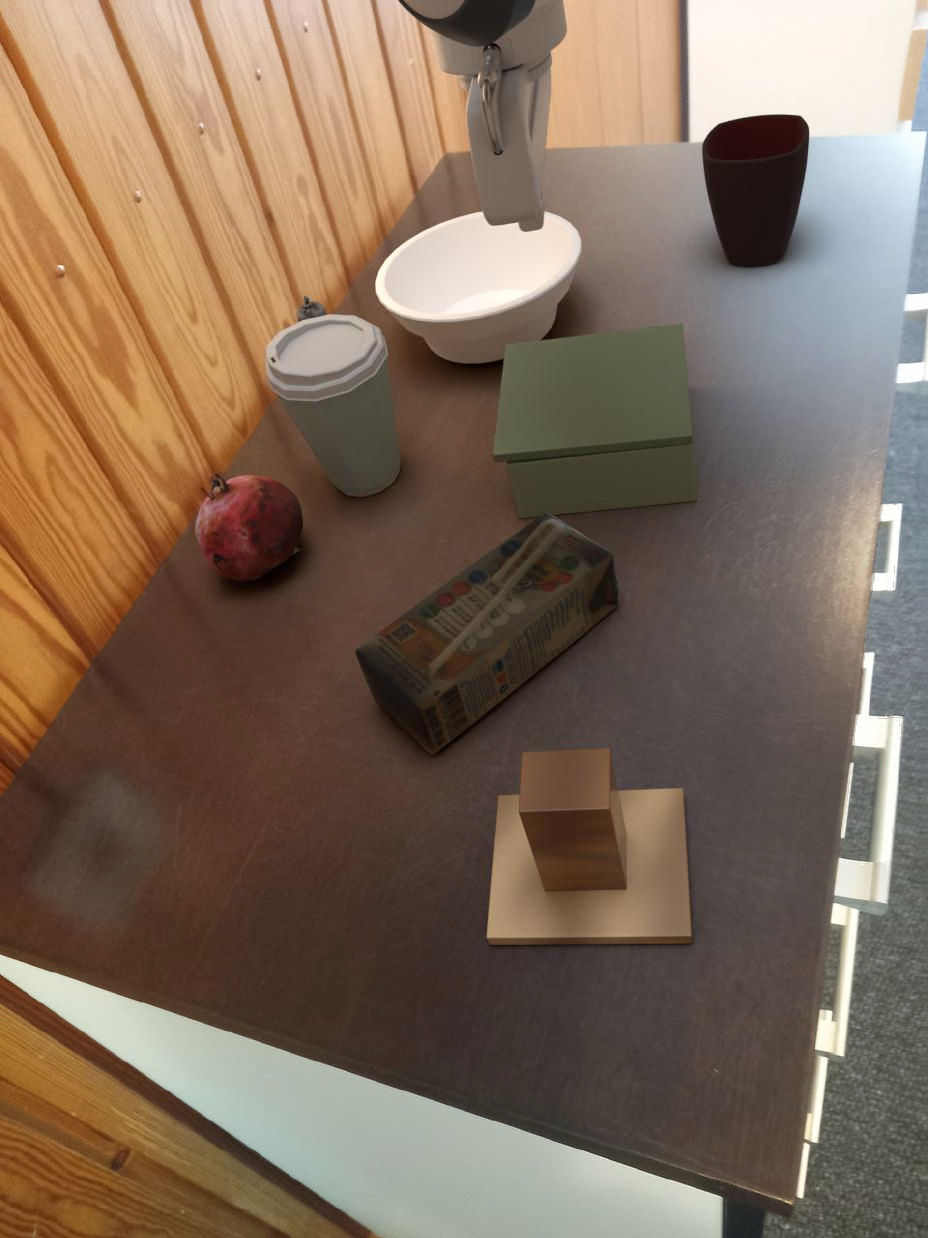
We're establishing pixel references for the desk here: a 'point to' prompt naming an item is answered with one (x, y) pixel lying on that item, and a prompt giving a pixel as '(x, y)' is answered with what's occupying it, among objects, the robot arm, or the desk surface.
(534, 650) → the beverage carton
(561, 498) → the green box base
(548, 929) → the board
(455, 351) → the bowl
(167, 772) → the desk surface
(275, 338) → the disposable coffee cup
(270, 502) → the fruit
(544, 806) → the brown wooden block
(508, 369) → the lid
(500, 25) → the robot arm
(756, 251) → the dark brown plant pot
